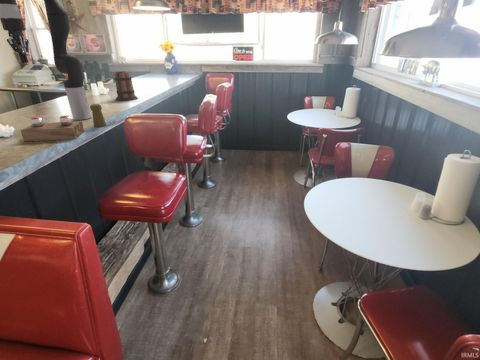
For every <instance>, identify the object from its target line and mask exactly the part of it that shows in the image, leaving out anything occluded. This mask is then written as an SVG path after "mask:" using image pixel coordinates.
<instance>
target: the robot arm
mask: <svg viewBox="0 0 480 360" xmlns="http://www.w3.org/2000/svg"><path fill="white" fill-rule="evenodd" d="M43 2H44V3H43V4H44V7H45V14H46V18H47V23H48V26H49V31H50V33H49V34H50V37H51V44H52V51H53V60H54V65H55V68H56V70H57V71H58V72H59V73H61V74H67V79H66V80H65V81H64V82H63V86H64V91H65V93H66V97H67V101H68V105H69V107H70V111H71V112H70V113H71V115H72V119H73V120H76V121H82V120H87V119H91V118H92V114H91V109H90V105H89V102H88V98H87V94H86V91H85V86H84V81H85V80H84V75H83V74H84V73H83V69H82V64H81V62H80V60H79V58H78V57H77V56H75V55H74V54H73V55H72V54H68V51H67V41H68V37H69V34H70V29H71V26H70V21H69V20H70V19H69V15H68V12H67V10H66V8H65V7H64V5H63V4H62V2H61V1H60V0H43ZM21 14H22V13H21V12H20V9H19V6H18V4H17V1H16V0H0V23H1V26H2V28H3V31H7V34H8V37H9V38H7V39H6V42H7V43H8V45H9V46H10V47H11V48H12V50H13V51H14V53H16V54H18V55H19V60H20V62H21V63H22V64H28V63H29V59H28V56H27V53H29V43H30V41H29V39H28V38H27V39H26V38H25V35H24V33H23V32H24V31H26V27H25V24H24V20H23V18H22V15H21Z"/></svg>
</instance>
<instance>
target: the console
mask: <svg viewBox="0 0 480 360" xmlns="http://www.w3.org/2000/svg"><path fill="white" fill-rule="evenodd" d="M43 124H44V125H43V126H40V127H32V124H30V125H28V126H26V127H24V128H22V129H20V133H21V136H22V139H23V142H25V143H26V142H38V141H39V142H41V141H42V142H44V141H58V139H61V140H75V139H77V138H78V137H80V136H81V135H82V134H83V133H84V132H85V128H84V124H83V121H82V120H76V121H72V124H70V125H66V126H65V125H61V122H60V121H59V122H43Z"/></svg>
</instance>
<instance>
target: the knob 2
mask: <svg viewBox="0 0 480 360" xmlns="http://www.w3.org/2000/svg"><path fill="white" fill-rule="evenodd" d="M58 118H59V122H61V125H65V126H66V125H70V124H72V122H73V121H72V118H71V116H70V115H61V116H59V117H58Z"/></svg>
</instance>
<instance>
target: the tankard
mask: <svg viewBox="0 0 480 360" xmlns="http://www.w3.org/2000/svg"><path fill="white" fill-rule="evenodd" d="M130 73H131V72H130V71H114V82H115V88H116V95H117V97H116V98H115V101H116V102H131V101H132V102H133V101H136V100H138V99H139V98H138V96H137V95H136V94H135V89H134V86H133V85H134V84H133V81H132V80H133V79H132V76H131V74H130Z"/></svg>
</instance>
